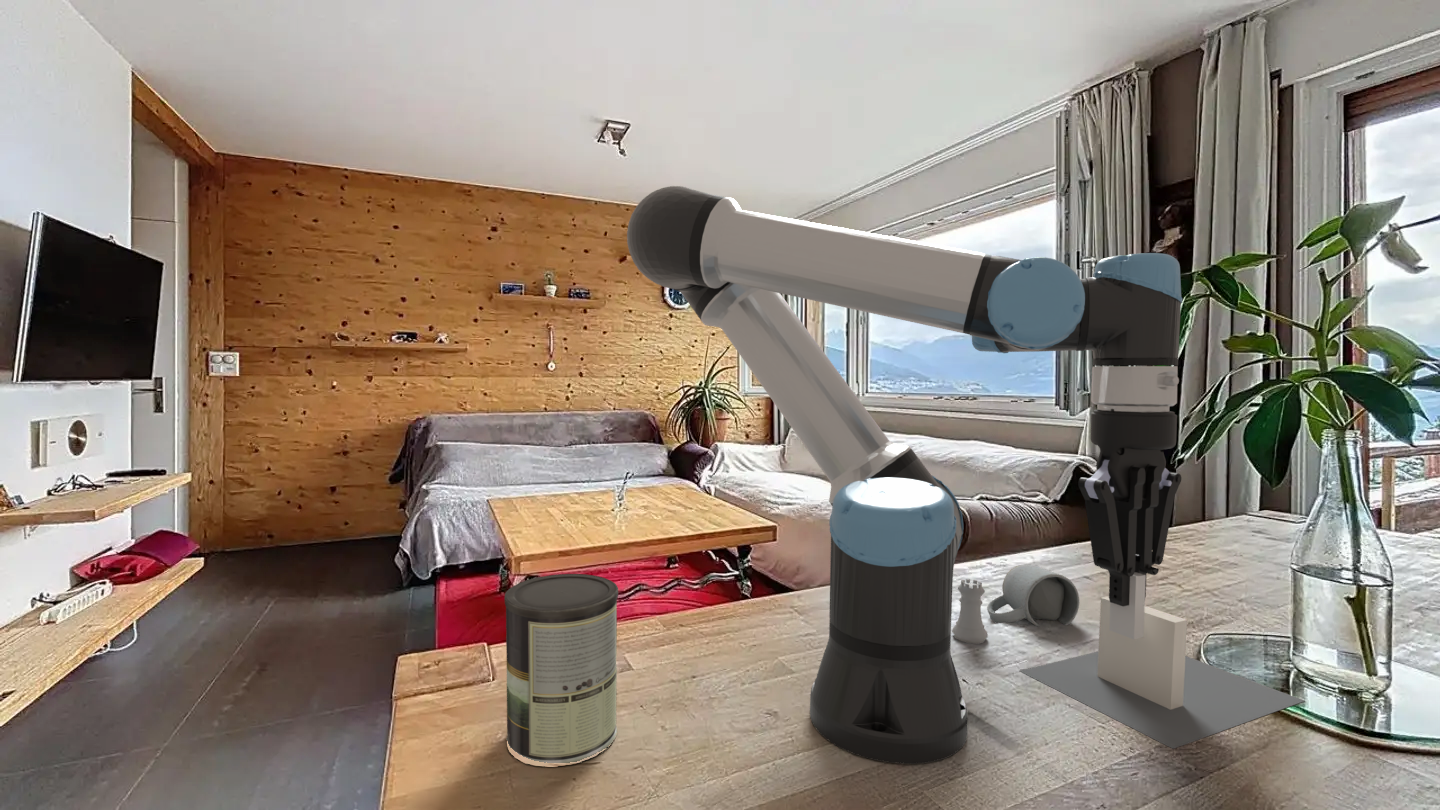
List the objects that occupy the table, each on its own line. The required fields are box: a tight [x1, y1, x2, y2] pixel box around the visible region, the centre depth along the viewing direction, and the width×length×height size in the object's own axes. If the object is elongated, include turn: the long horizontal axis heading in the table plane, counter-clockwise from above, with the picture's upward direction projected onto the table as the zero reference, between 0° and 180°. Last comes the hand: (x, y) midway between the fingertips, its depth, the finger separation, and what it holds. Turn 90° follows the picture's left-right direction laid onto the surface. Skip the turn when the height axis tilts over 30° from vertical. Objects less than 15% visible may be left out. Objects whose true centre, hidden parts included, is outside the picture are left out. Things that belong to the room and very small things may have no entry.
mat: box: [1019, 650, 1305, 750], centre depth 73 cm, size 22×17×1 cm
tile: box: [1097, 595, 1188, 710], centre depth 72 cm, size 2×8×9 cm, turn 25°
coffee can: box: [504, 573, 619, 763], centre depth 63 cm, size 10×10×14 cm
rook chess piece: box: [951, 578, 989, 645], centre depth 86 cm, size 4×4×8 cm
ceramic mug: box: [986, 564, 1080, 627], centre depth 94 cm, size 11×8×8 cm
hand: (1126, 633), depth 70 cm, fingers closed
